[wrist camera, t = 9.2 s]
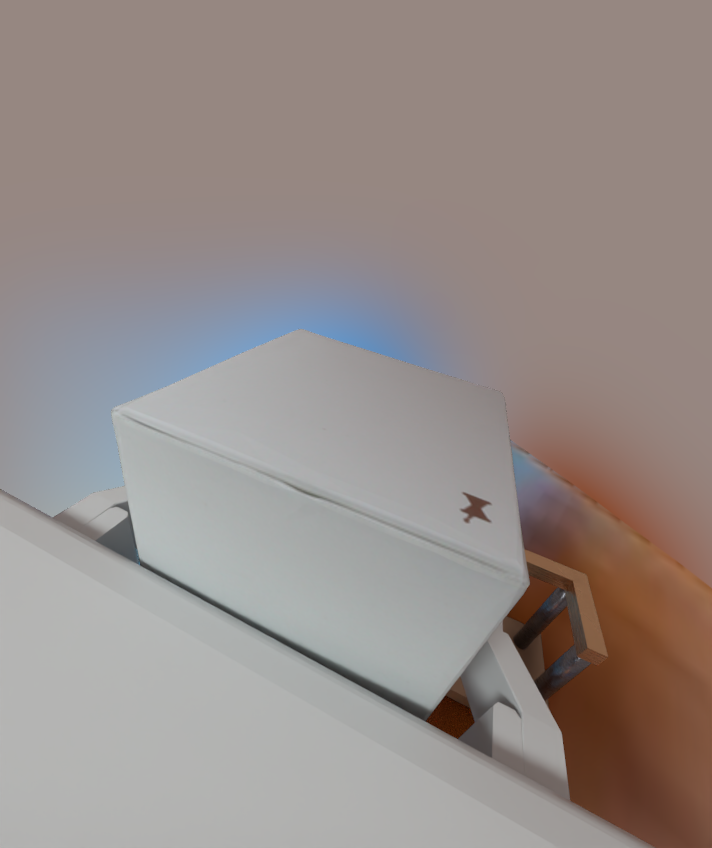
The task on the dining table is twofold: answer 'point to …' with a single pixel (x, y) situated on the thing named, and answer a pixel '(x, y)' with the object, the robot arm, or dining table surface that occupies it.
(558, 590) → the wooden post stand
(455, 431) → the supplement box
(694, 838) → the dining table surface
